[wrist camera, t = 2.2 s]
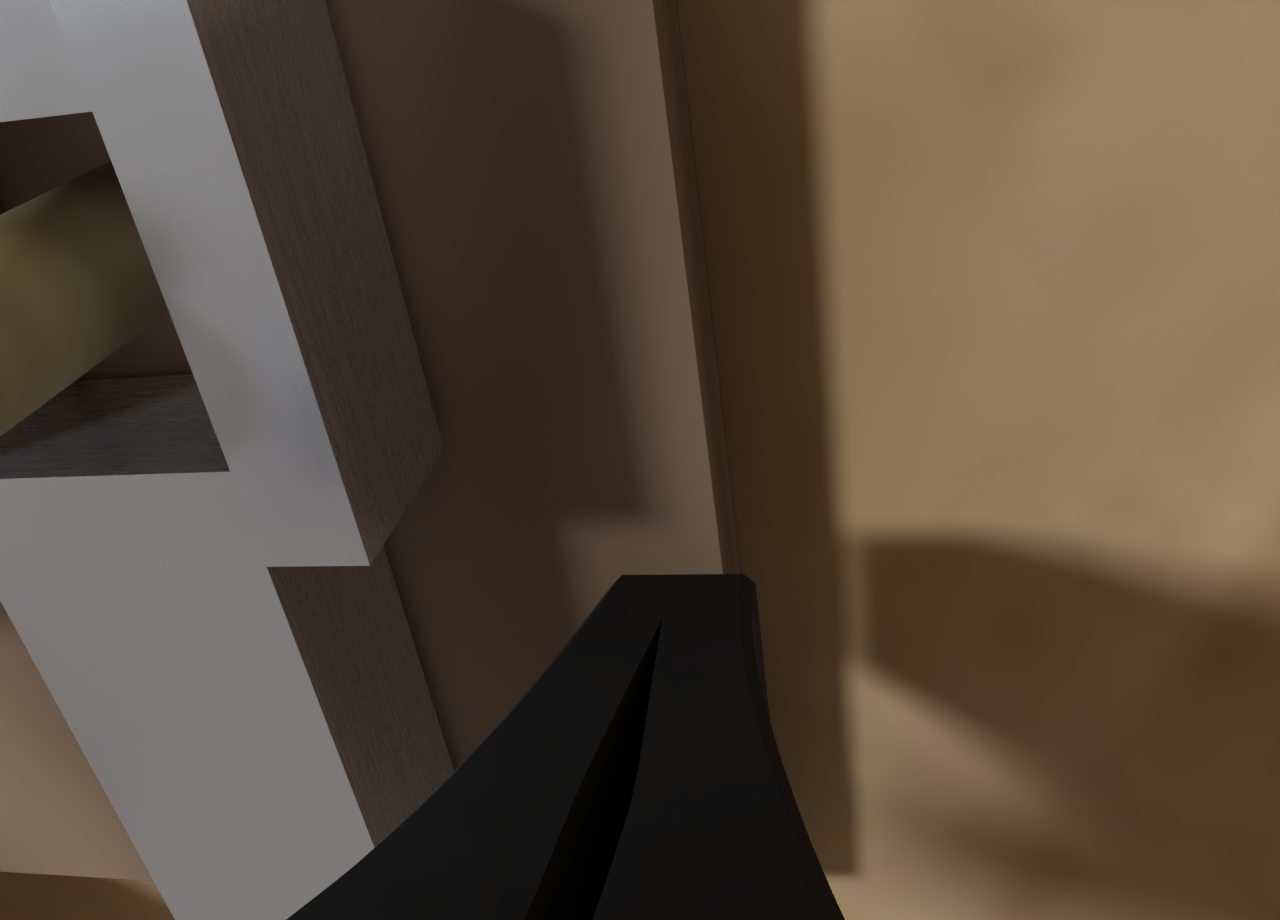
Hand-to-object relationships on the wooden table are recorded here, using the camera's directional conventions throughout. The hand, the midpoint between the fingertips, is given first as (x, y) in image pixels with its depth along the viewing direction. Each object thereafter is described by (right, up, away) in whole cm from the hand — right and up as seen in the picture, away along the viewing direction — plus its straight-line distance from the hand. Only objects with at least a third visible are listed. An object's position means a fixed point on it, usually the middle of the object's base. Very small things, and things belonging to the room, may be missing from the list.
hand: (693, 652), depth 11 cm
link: (-5, +1, +1) cm, 5 cm away
